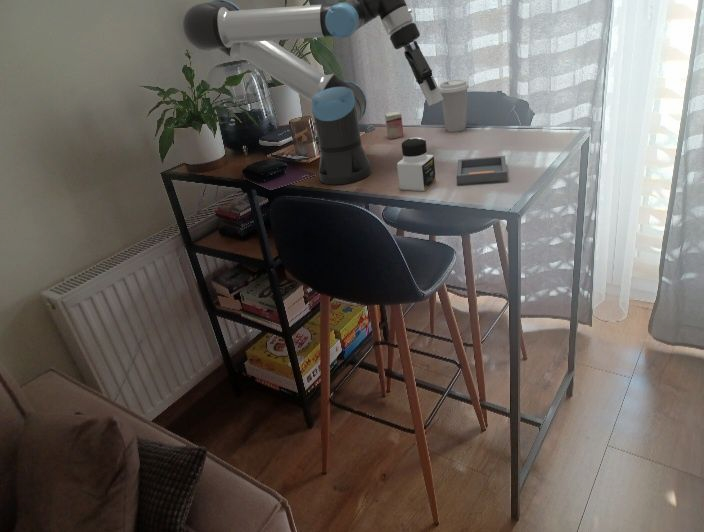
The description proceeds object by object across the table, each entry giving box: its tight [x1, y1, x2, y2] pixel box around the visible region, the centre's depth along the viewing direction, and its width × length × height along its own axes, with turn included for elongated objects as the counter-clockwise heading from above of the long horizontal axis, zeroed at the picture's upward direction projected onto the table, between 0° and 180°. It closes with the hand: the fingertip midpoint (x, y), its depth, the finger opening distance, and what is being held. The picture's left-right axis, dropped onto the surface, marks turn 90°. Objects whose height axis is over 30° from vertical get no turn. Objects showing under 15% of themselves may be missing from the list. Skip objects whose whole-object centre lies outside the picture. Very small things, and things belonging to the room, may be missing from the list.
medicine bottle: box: [396, 137, 437, 192], centre depth 132 cm, size 7×7×12 cm
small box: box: [384, 110, 405, 140], centre depth 174 cm, size 5×4×8 cm
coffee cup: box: [438, 78, 469, 133], centre depth 169 cm, size 10×10×15 cm
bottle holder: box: [456, 155, 508, 186], centre depth 133 cm, size 12×12×3 cm
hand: (435, 102), depth 143 cm, fingers open, 13 cm apart
